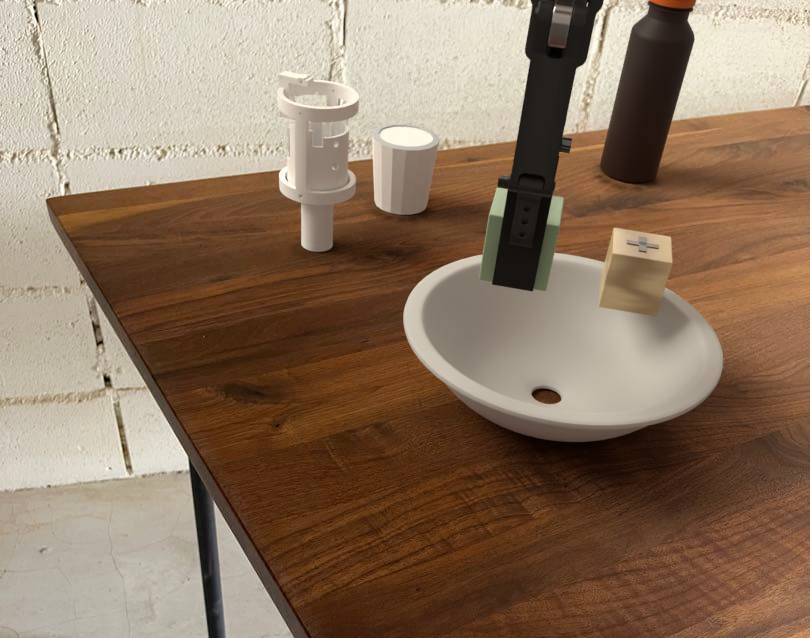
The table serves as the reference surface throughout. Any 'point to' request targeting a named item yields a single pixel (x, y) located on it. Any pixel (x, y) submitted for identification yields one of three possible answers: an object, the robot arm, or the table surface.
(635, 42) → the bottle
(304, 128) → the white slotted cylindrical holder
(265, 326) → the table surface
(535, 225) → the robot arm
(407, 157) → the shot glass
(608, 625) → the table surface
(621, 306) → the maple block
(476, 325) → the sink basin
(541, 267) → the sage block
